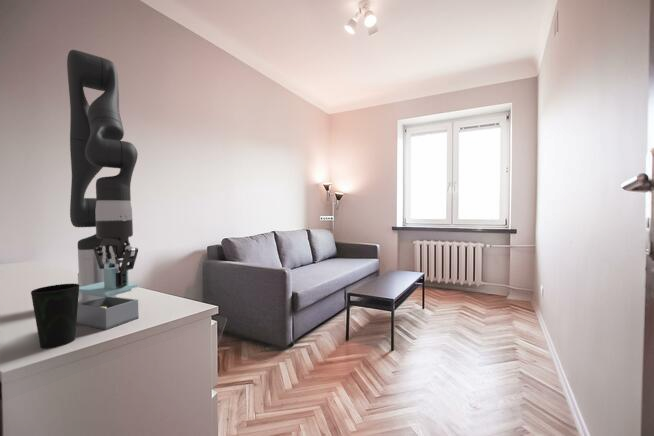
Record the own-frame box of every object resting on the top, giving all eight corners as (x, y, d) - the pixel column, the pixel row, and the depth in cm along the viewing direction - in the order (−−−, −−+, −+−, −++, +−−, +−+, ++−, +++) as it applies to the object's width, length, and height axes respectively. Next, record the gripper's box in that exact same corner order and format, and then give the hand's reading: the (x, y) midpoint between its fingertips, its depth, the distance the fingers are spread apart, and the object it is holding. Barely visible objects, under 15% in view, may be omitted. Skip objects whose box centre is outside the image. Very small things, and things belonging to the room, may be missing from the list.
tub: (75, 324, 74) (74, 304, 73) (108, 313, 81) (107, 295, 81) (106, 329, 69) (105, 309, 69) (138, 318, 77) (138, 299, 77)
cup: (77, 332, 68) (75, 281, 68) (85, 340, 63) (83, 286, 63) (30, 344, 62) (28, 289, 62) (35, 354, 58) (33, 294, 57)
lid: (74, 294, 74) (73, 268, 73) (107, 286, 81) (106, 263, 81) (105, 298, 69) (104, 271, 69) (137, 290, 77) (136, 265, 77)
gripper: (80, 219, 72) (82, 287, 73) (118, 219, 67) (120, 292, 68) (111, 218, 79) (113, 281, 80) (148, 218, 74) (150, 284, 75)
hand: (116, 286), depth 74 cm, fingers closed on lid, 3 cm apart
